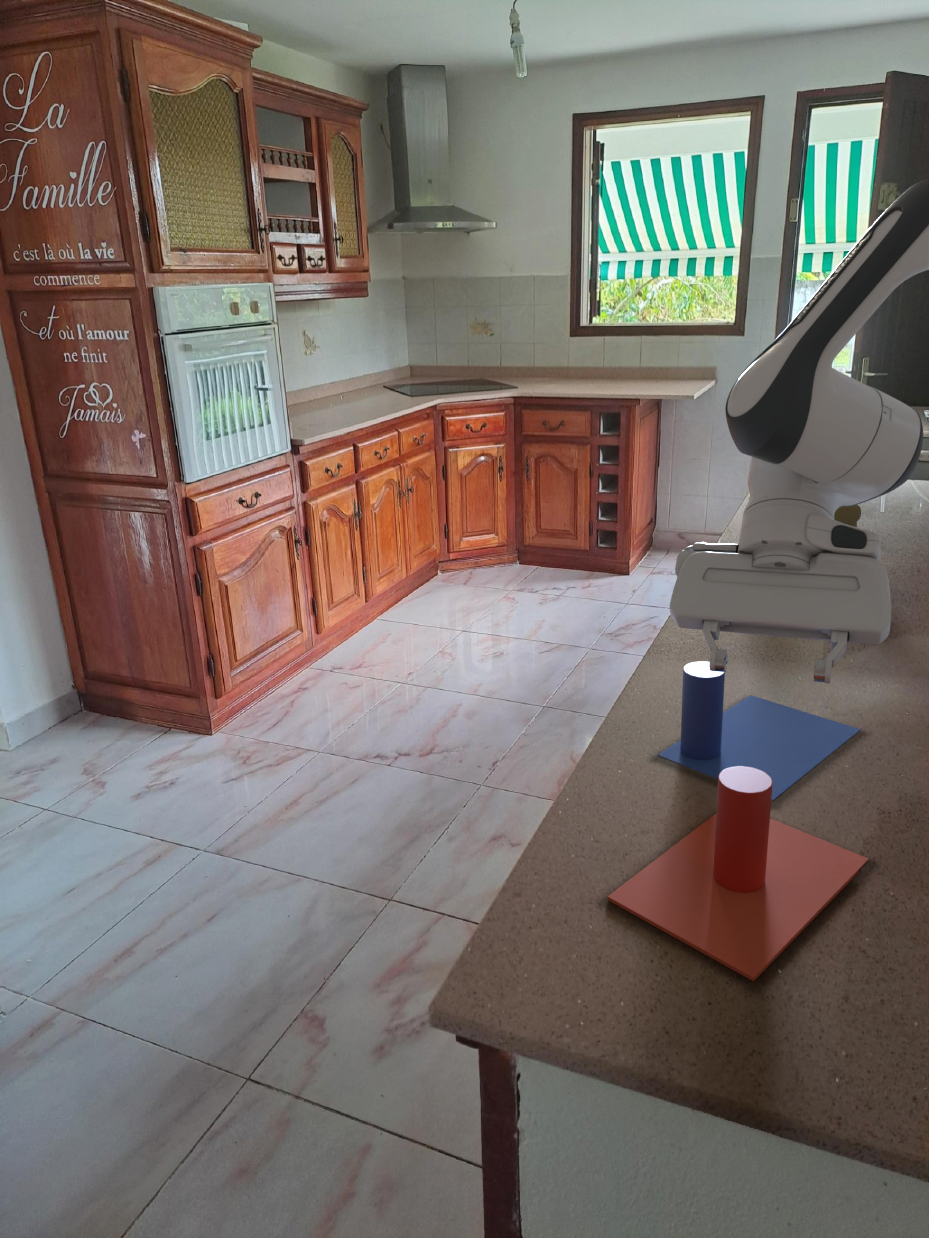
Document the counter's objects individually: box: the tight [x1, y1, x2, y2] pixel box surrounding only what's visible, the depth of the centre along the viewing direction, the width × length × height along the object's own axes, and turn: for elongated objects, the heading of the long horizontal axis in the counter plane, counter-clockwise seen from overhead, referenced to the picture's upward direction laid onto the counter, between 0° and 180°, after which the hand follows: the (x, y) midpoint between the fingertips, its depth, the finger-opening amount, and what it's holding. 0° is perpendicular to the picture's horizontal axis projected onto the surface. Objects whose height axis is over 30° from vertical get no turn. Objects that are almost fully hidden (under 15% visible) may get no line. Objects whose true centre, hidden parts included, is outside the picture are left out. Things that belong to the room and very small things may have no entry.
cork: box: [834, 504, 862, 528], centre depth 157 cm, size 6×6×11 cm
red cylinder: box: [713, 766, 773, 893], centre depth 76 cm, size 4×4×10 cm
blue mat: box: [657, 694, 861, 802], centre depth 100 cm, size 14×20×1 cm
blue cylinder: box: [680, 660, 726, 760], centre depth 97 cm, size 4×4×10 cm
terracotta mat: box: [606, 813, 870, 982], centre depth 78 cm, size 14×20×1 cm
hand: (768, 675), depth 83 cm, fingers open, 8 cm apart
